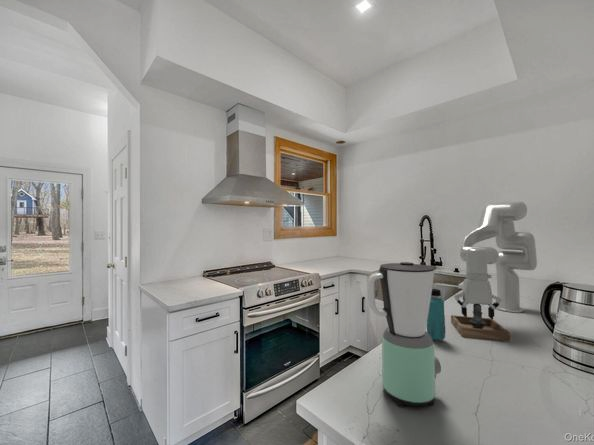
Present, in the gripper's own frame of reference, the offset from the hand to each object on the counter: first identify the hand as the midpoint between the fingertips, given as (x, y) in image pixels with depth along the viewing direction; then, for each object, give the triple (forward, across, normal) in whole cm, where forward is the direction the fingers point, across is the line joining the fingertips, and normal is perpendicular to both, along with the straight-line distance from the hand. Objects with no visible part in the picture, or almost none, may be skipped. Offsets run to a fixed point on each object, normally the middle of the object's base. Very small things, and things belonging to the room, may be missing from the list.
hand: (477, 316), depth 113 cm
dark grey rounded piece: (+6, 0, 0) cm, 6 cm away
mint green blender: (+6, +34, +55) cm, 65 cm away
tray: (+6, 0, 0) cm, 6 cm away
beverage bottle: (+6, +19, +15) cm, 25 cm away
